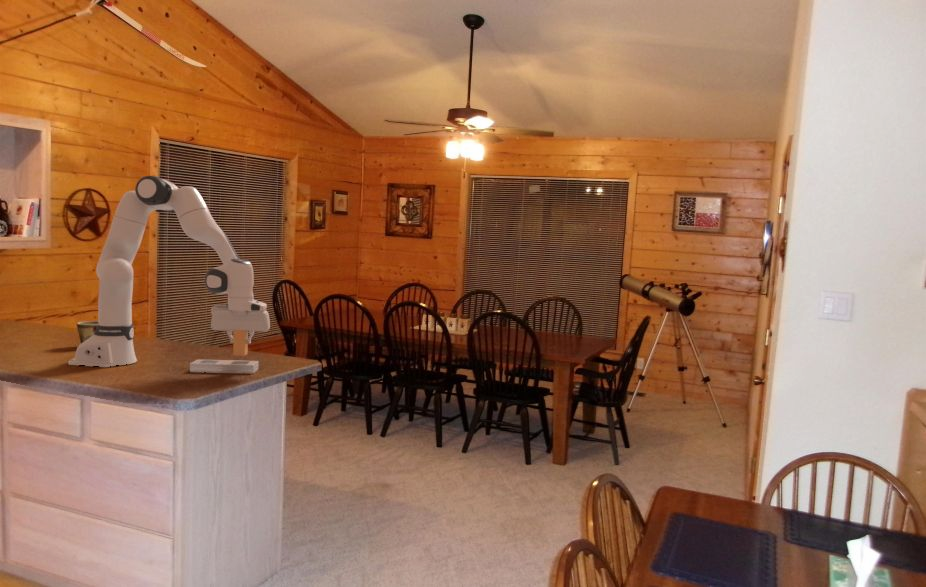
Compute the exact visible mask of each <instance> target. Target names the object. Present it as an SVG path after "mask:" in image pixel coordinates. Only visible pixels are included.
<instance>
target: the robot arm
mask: <svg viewBox="0 0 926 587" xmlns="http://www.w3.org/2000/svg"><path fill="white" fill-rule="evenodd" d="M134 187H135V188H134V190H128V191H126V192H125V193H124V194H122V197H121V199H119V200H120V201H119V202H118V205H117V207H116V210H115V212H114V215H113V219H112V221H111V225H110V227H109V228H110V229H109V231H108V235H107V237H106V240H105V243H104V245H103V248H102V250H101V254H100V256H99V258H98V261H97V265H96V268H95V269H96V270H95V273H96V276H97V278H98V280H99V282H98V285H99V286H98V300H97V301H98V303H97V311H98V312H97V313H98V315H97V318H98V319H97V321H98V325H96V326H94V327H93V329H92V330H91V331H94V335H92V336H91V337H90V338H88V339H87V340H86V341H84V342H83V343H82V344H81V343H79V345H78V346H77V348H76V351H75V355H74V357H73V358H71V359H69V360H68V365H69V366H79V365H85V366H84V367H93V366H99V367H98V368H110V366H111V367H115V366H116V365H119V366H126V364H127V365H132V364H135V363H136V362H138V359H137V355H136V353H135V347H134V331H135V330H134V323H133V318H132V317H133V313H132V312H133V309H132V308H133V306H132V305H133V303H132V302H133V293H134V292H133V291H134V290H133V289H134V274H135V273H134V268H133V266H132V265H133V262H134V260H135V259H136V255H137V254H138V251H139V248H140V246H141V244H142V240H143V237H144V233H145V229H146V227H147V223H148V220H149V217H150V215H151V213H153V212H154V211H155V212H156V213H168V212H169V213H172V212H174V213H175V214H176V217H177V220H178V222H179V225H180V227H181V229H182V231H183V232H184V234H185V235H186V236H187V237H188V238H190V239H192V240H194V241H198V242H200V243H203V244H205V245H208V246H209V247H211V248H212V249H213V250H214V251H215V252H216V254H217V255H218V257H219V259H220V261H221V263H222V264H221V265H220V266H216V267H213V268H210V269H209V270H207V271H206V274H204V275H205V276H204V286H205V289H207V290H208V292H210V293H211V294H214V295H224V294H227V303H222V304H221V303H220V304H219V303H217V304H216V303H215V304H213V306H211V307H210V308H211V309H210V314H211V321H210V328H211V329H212V330H213V331H226V335H227V336H228V337H229V340H230V341H229V343H230V344H233V330H245V331H248V334H249V335H248V338H246V343H248V344H251V343H252V337H253V336H254V334H255V332H265V333H267V332H268V331H269V330H270V328H271V320H270V314H269V312H268V310H267V308H268V304H267V303H266V302H262V301H259V300H257V299H254V297H255V296H254V291H253V287H254V286H255V281H254V280H255V276H254V267H253V265H252V262H251V261H249V260H247V259H243V258H239V257H240V256H239V255H238V253H237V252H236V250H235V247H233V245H232V243H231V241H230V239H229V237H228V235H227V234H226V233H225V232H224V230H223V229H222V228H221V227H220V226H219V225H218V223H217V222H216V221H215V219H214V217H213V216H212V214H211V212H210V210H209V207H208V205H207V203H206V202H205V200H204V198H203V196H202V194H201V192H199V191H198V189H197V188H196V187H194V186H189V185H188V186H187V185H185V186H181V187H180V186H178V185H177V184H175V183H173V182H171V181H170V180H168V179H165V178H164V179H163V178H160V177H159V176H155V175H146V176H143V177H141V178H139V179H138V181H137V182H136V184H135V186H134ZM116 367H117V366H116Z"/></svg>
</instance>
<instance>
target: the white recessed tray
mask: <svg viewBox="0 0 926 587" xmlns="http://www.w3.org/2000/svg"><path fill="white" fill-rule="evenodd" d="M259 362H260V361H259V360H236V359H235V360H233V359H201V358H200V359H195V360H194V361H192V362H190V363H189V372H190V373H204V372H206V373H211V374H212V373H213V374H244V373H245V374H248V375H249V374H250V375H253V374H255V373H256V372H257V371H258V370H259ZM206 373H205V374H206ZM245 374H244V375H245Z"/></svg>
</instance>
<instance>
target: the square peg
mask: <svg viewBox="0 0 926 587" xmlns="http://www.w3.org/2000/svg"><path fill="white" fill-rule="evenodd" d="M248 334H249V331H245V330H233V331H232V336H233V343H232V344H233V348H232V349H233V350H232V351H233V354H232V355H233V356H246V355H248V354H249V350H248V348H249V346H248V343H246V338H249V335H248Z"/></svg>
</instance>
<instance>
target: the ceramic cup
mask: <svg viewBox="0 0 926 587" xmlns="http://www.w3.org/2000/svg"><path fill="white" fill-rule="evenodd" d="M96 325H98V320H89V321H87V320H85V321H79V322H77V323H76V328H77V329H76V330H77V332H78V336H79V340H80V344H82V343H83V342H84V341H86V340H87V339H88V338H90V337H91V336H92V335H94V331H91V330H92V329H93V327H94V326H96Z"/></svg>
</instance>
